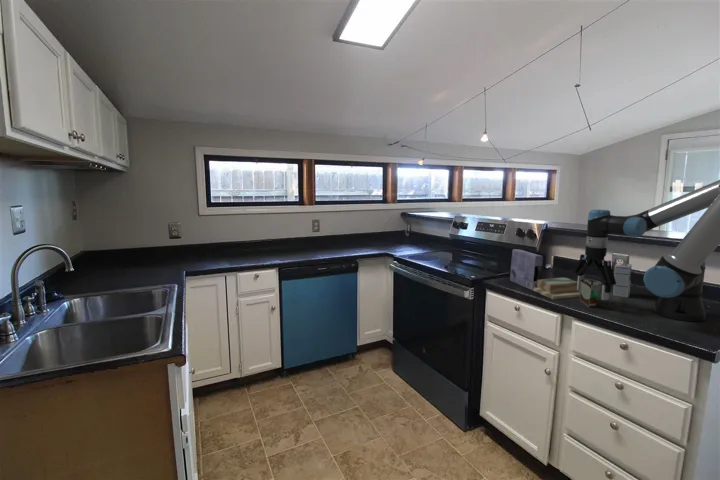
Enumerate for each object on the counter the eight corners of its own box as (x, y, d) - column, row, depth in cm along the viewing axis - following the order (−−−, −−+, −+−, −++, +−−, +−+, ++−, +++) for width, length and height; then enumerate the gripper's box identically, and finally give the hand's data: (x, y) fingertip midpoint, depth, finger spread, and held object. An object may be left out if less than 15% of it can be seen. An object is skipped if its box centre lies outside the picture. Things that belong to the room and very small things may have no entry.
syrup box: (628, 297, 159) (631, 266, 157) (612, 295, 163) (614, 264, 161) (629, 294, 163) (632, 264, 161) (614, 292, 167) (616, 262, 165)
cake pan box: (542, 290, 174) (544, 255, 171) (534, 291, 173) (535, 256, 170) (517, 280, 193) (518, 248, 190) (509, 281, 192) (510, 249, 189)
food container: (606, 309, 147) (608, 285, 145) (590, 308, 148) (592, 285, 146) (593, 299, 159) (595, 277, 157) (578, 299, 160) (580, 277, 158)
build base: (588, 296, 163) (589, 284, 162) (552, 299, 160) (553, 287, 159) (561, 285, 180) (561, 274, 180) (528, 288, 178) (529, 277, 177)
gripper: (567, 241, 161) (563, 286, 165) (613, 252, 137) (608, 305, 140) (581, 240, 162) (578, 285, 166) (630, 251, 138) (624, 303, 141)
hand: (591, 294), depth 153 cm, fingers open, 13 cm apart
